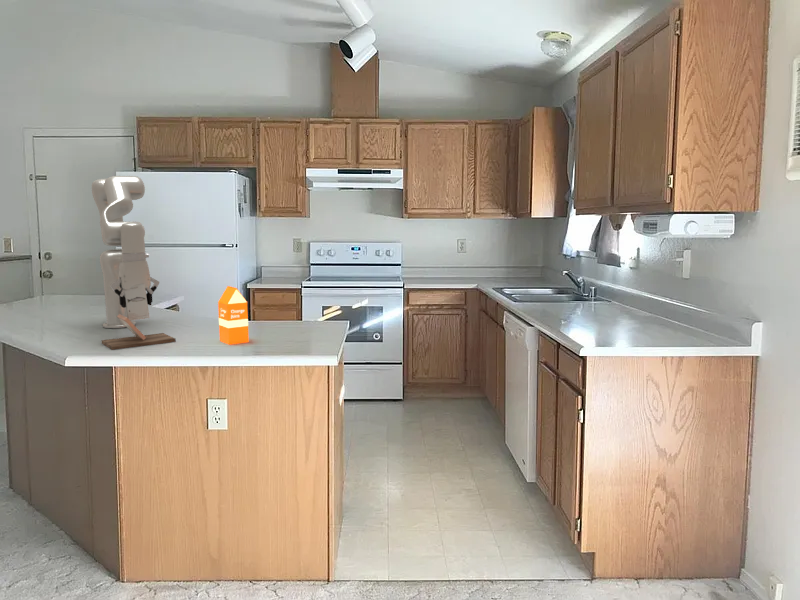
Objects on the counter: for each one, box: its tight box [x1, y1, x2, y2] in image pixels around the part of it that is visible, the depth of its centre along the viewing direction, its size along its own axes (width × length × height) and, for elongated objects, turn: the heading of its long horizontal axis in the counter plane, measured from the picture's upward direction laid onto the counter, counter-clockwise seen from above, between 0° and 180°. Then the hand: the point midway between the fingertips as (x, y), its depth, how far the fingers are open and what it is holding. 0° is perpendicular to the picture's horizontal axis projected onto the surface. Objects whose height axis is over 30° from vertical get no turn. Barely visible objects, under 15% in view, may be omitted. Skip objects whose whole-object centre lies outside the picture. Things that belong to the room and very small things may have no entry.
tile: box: [117, 314, 146, 340], centre depth 241 cm, size 10×10×1 cm
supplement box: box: [124, 284, 150, 321], centre depth 243 cm, size 7×7×13 cm
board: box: [100, 332, 176, 351], centre depth 243 cm, size 14×22×1 cm, turn 127°
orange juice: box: [217, 285, 250, 346], centre depth 243 cm, size 8×9×20 cm
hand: (136, 305), depth 242 cm, fingers closed on supplement box, 8 cm apart
